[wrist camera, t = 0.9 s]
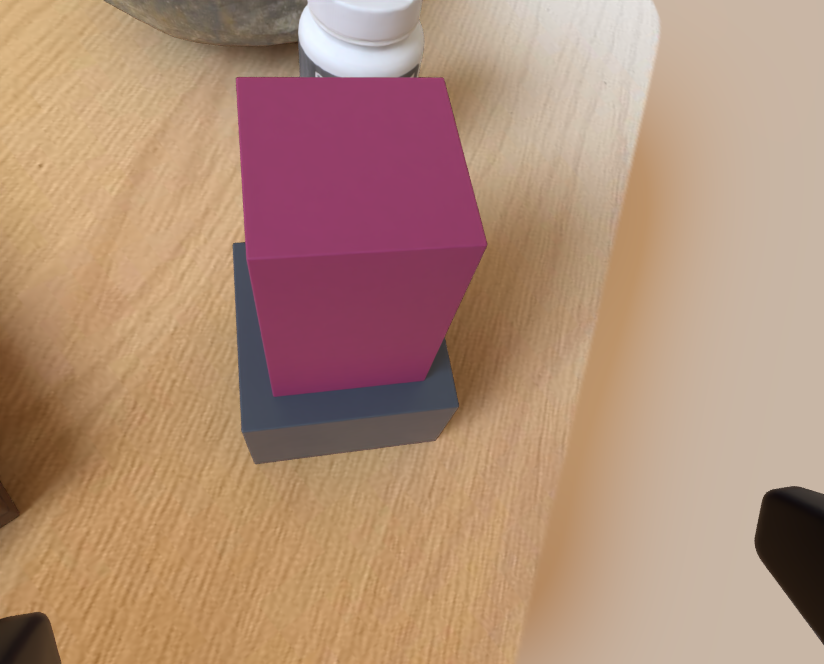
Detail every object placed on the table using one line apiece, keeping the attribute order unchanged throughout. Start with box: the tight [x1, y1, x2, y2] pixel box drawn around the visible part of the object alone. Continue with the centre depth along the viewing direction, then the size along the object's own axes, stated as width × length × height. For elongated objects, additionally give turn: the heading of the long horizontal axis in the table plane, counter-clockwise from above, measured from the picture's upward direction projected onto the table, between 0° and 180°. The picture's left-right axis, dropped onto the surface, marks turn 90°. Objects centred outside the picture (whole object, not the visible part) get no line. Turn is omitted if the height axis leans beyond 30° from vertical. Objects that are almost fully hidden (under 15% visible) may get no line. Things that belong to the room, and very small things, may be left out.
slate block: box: [233, 242, 459, 464], centre depth 20 cm, size 6×6×4 cm
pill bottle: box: [298, 0, 424, 77], centre depth 23 cm, size 5×5×8 cm
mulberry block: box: [236, 77, 487, 397], centre depth 15 cm, size 5×5×8 cm
